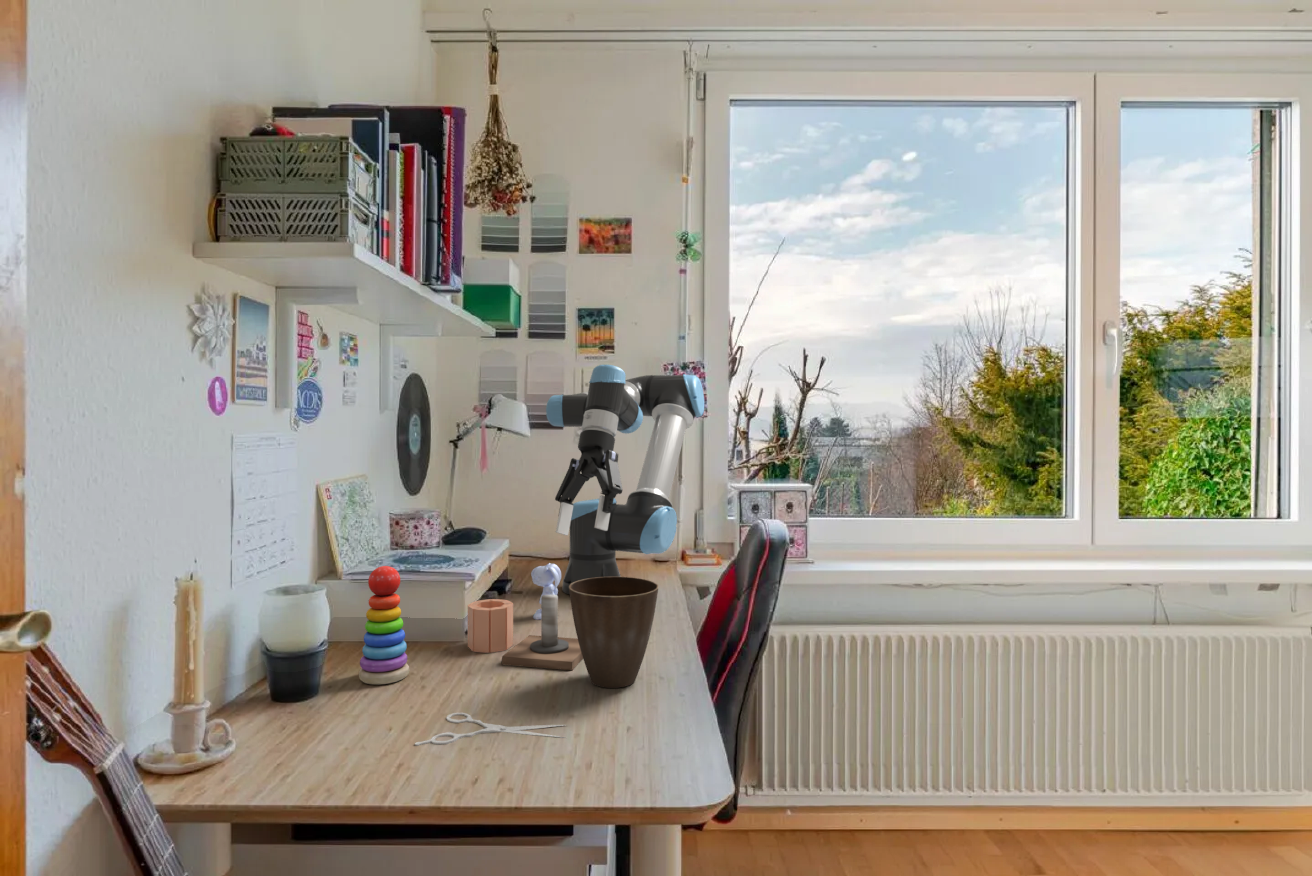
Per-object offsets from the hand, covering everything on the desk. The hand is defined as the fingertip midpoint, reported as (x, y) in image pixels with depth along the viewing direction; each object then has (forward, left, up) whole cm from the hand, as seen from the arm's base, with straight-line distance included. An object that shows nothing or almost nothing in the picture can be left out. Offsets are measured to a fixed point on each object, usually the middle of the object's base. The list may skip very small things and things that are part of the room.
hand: (580, 531), depth 149 cm
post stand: (+15, -1, -21) cm, 26 cm away
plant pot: (+25, +14, -21) cm, 35 cm away
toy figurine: (-10, -11, -21) cm, 26 cm away
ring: (+12, -14, -21) cm, 28 cm away
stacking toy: (+32, -24, -21) cm, 45 cm away
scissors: (+47, +3, -21) cm, 52 cm away
